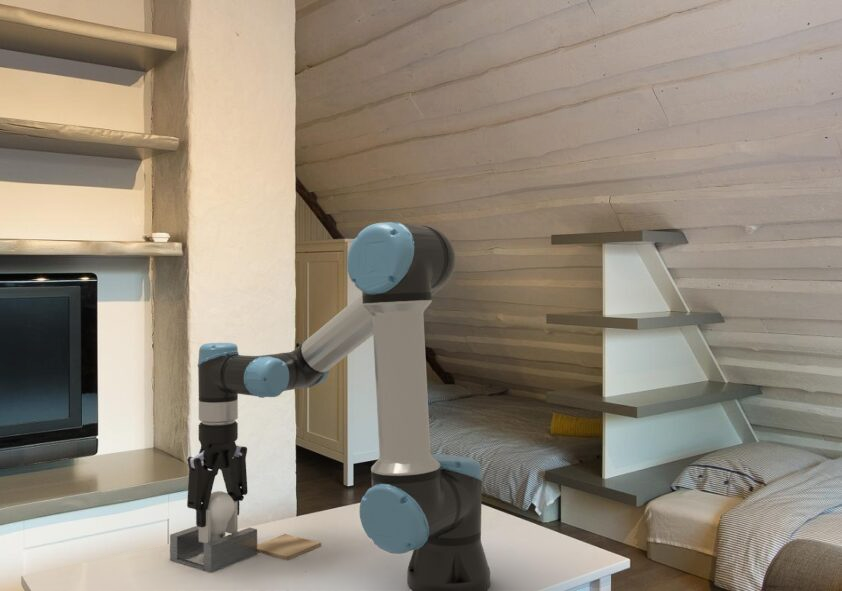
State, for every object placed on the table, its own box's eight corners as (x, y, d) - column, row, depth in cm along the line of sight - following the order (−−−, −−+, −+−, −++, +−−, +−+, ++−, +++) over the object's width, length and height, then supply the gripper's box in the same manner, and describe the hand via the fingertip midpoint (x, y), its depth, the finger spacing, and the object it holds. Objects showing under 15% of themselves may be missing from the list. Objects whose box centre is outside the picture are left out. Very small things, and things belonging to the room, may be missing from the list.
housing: (257, 554, 159) (257, 529, 159) (210, 572, 149) (211, 546, 149) (216, 543, 165) (217, 519, 165) (170, 560, 155) (170, 534, 155)
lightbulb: (226, 553, 154) (226, 497, 154) (195, 551, 155) (195, 495, 155) (240, 542, 160) (239, 488, 160) (210, 540, 162) (210, 486, 161)
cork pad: (320, 545, 164) (320, 542, 164) (287, 559, 156) (287, 556, 156) (284, 536, 170) (284, 533, 170) (250, 549, 162) (250, 547, 161)
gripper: (240, 412, 167) (240, 521, 168) (166, 426, 151) (166, 547, 152) (266, 416, 163) (266, 528, 164) (193, 431, 147) (193, 555, 148)
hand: (218, 537), depth 158 cm, fingers closed on lightbulb, 6 cm apart
